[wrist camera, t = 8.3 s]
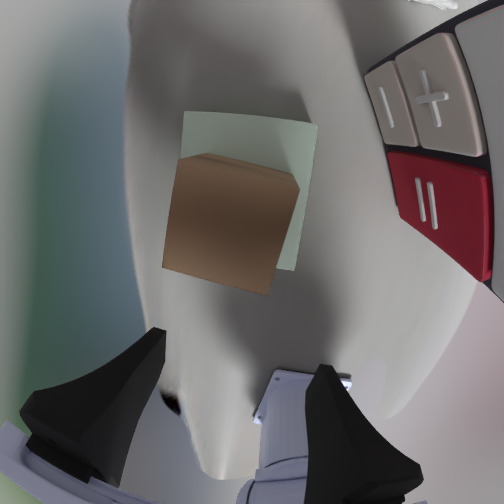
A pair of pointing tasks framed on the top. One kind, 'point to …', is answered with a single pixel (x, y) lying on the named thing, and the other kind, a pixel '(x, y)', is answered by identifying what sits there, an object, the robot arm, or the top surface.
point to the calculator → (450, 136)
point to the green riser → (258, 154)
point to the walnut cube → (228, 221)
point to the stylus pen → (440, 3)
